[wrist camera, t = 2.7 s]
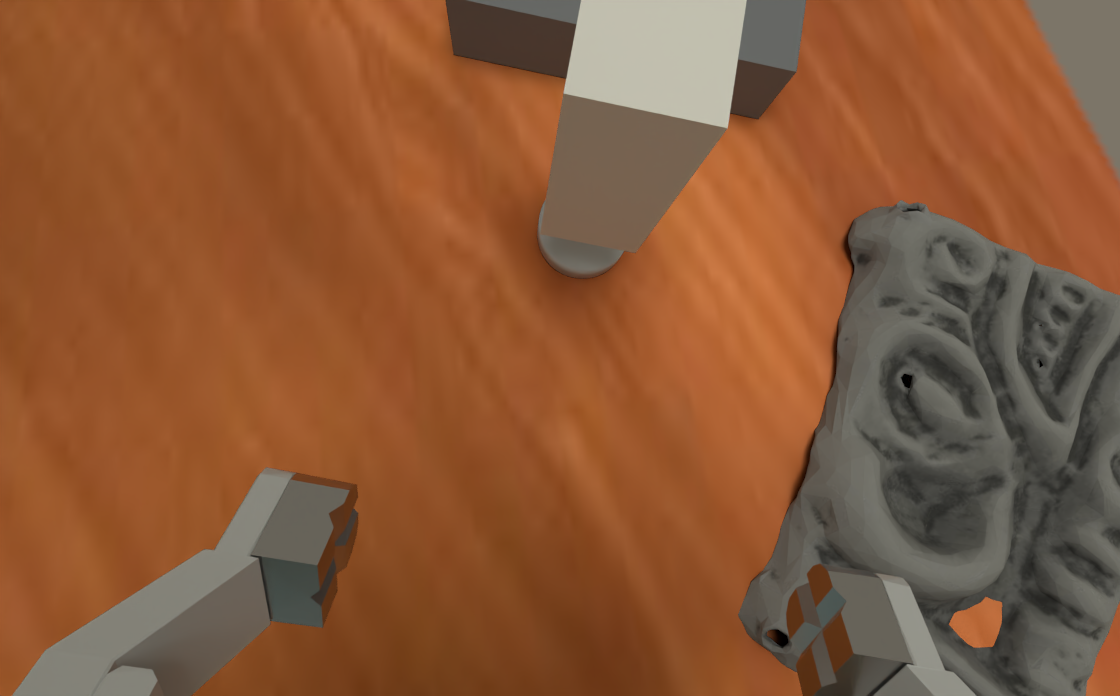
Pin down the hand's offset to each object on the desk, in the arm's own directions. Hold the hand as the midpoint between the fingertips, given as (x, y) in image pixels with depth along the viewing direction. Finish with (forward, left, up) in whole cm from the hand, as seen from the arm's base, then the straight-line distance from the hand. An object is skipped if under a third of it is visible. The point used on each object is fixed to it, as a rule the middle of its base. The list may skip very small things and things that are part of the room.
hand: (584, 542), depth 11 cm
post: (-9, +7, -19) cm, 22 cm away
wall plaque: (+9, +19, -19) cm, 28 cm away
